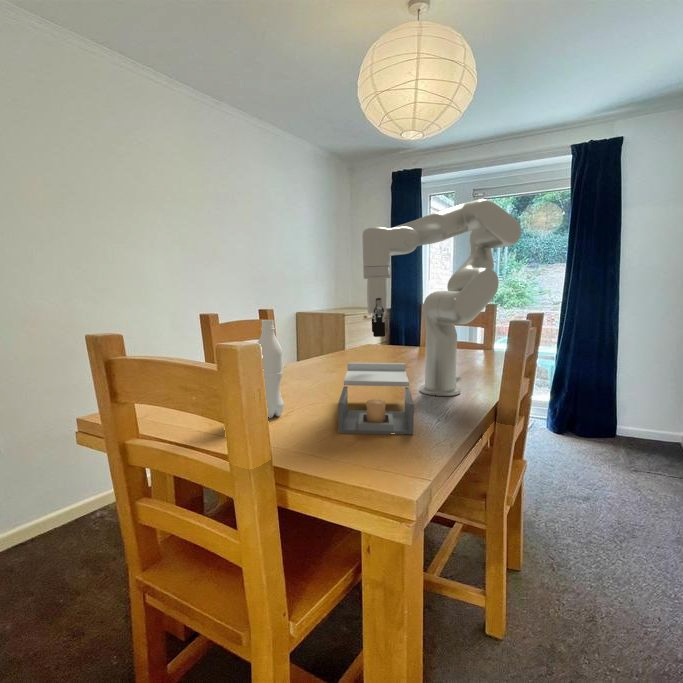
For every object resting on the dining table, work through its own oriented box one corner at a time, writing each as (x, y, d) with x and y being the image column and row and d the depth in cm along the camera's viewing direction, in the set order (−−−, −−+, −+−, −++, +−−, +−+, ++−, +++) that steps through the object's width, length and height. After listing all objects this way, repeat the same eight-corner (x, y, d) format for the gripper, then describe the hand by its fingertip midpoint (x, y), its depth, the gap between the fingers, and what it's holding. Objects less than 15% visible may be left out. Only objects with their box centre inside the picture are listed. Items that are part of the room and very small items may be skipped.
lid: (347, 373, 123) (347, 362, 122) (405, 373, 121) (405, 363, 121) (343, 385, 108) (343, 373, 107) (408, 386, 106) (409, 374, 106)
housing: (343, 412, 109) (343, 386, 108) (408, 414, 107) (408, 387, 106) (338, 432, 94) (338, 402, 93) (413, 434, 93) (413, 404, 92)
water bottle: (285, 410, 111) (283, 318, 107) (282, 419, 104) (280, 321, 100) (258, 411, 111) (255, 318, 107) (254, 419, 104) (250, 321, 100)
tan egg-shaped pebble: (374, 420, 100) (374, 398, 99) (389, 424, 97) (389, 401, 96) (362, 424, 97) (362, 402, 96) (377, 429, 94) (377, 406, 93)
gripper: (362, 274, 123) (364, 330, 125) (364, 273, 106) (365, 339, 108) (387, 273, 122) (389, 329, 125) (393, 272, 105) (394, 338, 108)
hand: (378, 334), depth 117 cm, fingers open, 9 cm apart
